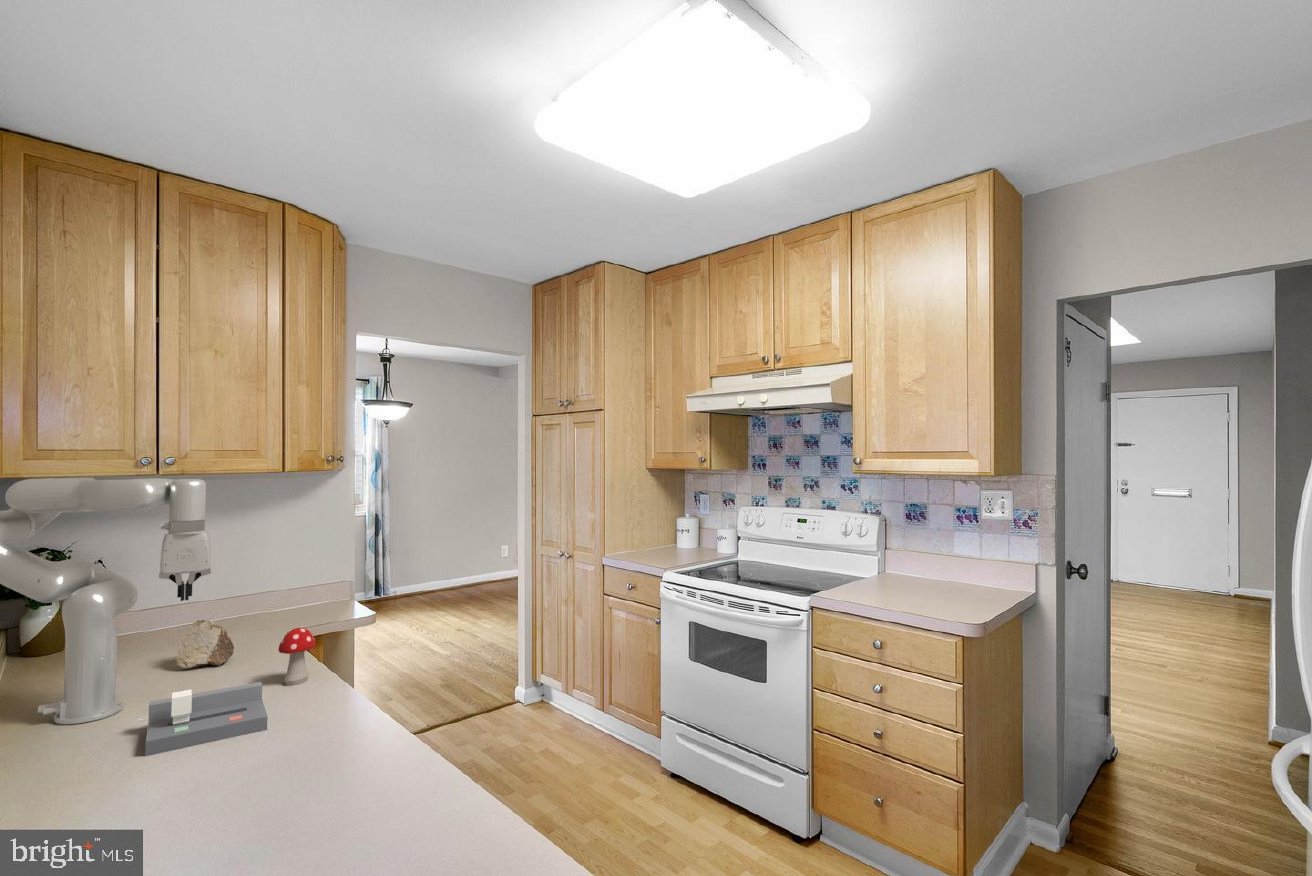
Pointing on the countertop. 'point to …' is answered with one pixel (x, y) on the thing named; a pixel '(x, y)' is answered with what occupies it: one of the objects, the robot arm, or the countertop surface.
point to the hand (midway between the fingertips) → (184, 599)
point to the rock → (204, 646)
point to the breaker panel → (207, 718)
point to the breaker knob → (181, 706)
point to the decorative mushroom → (296, 654)
